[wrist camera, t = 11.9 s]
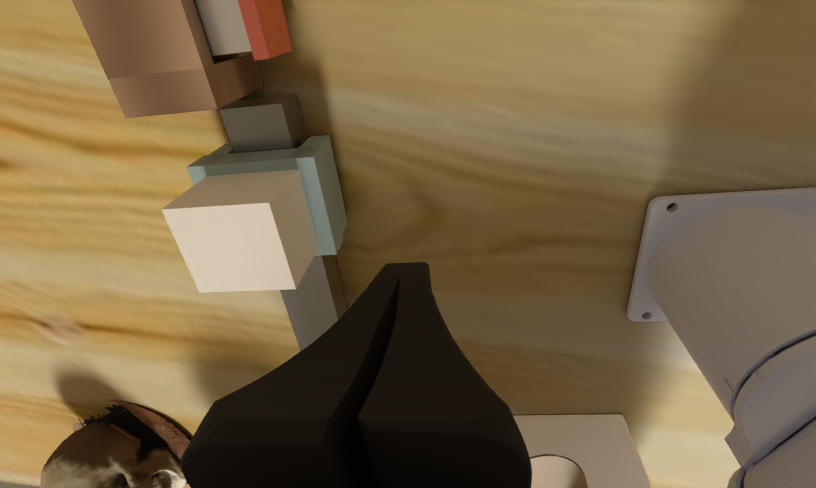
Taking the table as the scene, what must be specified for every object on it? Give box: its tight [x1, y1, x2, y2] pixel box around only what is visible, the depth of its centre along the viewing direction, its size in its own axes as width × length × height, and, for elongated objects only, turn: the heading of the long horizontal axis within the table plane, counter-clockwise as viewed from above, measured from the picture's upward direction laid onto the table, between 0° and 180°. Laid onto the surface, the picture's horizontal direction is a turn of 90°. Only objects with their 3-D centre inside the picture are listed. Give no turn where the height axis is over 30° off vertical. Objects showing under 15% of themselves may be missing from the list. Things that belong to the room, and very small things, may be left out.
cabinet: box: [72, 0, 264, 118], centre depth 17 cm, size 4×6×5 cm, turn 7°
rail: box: [219, 94, 348, 351], centre depth 24 cm, size 3×17×2 cm, turn 7°
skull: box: [41, 400, 191, 488], centre depth 37 cm, size 12×10×10 cm
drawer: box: [193, 0, 293, 60], centre depth 16 cm, size 6×3×3 cm, turn 97°
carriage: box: [161, 135, 348, 292], centre depth 19 cm, size 6×5×7 cm
